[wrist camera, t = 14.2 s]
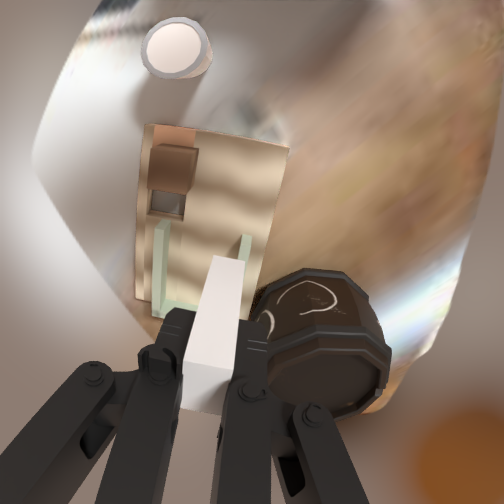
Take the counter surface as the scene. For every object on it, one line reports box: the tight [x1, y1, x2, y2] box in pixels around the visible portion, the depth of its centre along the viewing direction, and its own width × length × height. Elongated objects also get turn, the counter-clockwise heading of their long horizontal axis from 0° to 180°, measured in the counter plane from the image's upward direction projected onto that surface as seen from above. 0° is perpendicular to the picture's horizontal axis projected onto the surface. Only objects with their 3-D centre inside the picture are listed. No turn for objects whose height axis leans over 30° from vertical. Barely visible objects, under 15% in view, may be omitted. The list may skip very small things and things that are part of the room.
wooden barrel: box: [251, 268, 392, 422], centre depth 39 cm, size 18×18×16 cm
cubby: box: [152, 219, 252, 319], centre depth 40 cm, size 14×12×3 cm
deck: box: [135, 123, 290, 320], centre depth 39 cm, size 25×17×2 cm
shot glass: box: [141, 17, 213, 79], centre depth 27 cm, size 7×7×7 cm
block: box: [147, 143, 199, 195], centre depth 33 cm, size 4×4×4 cm
